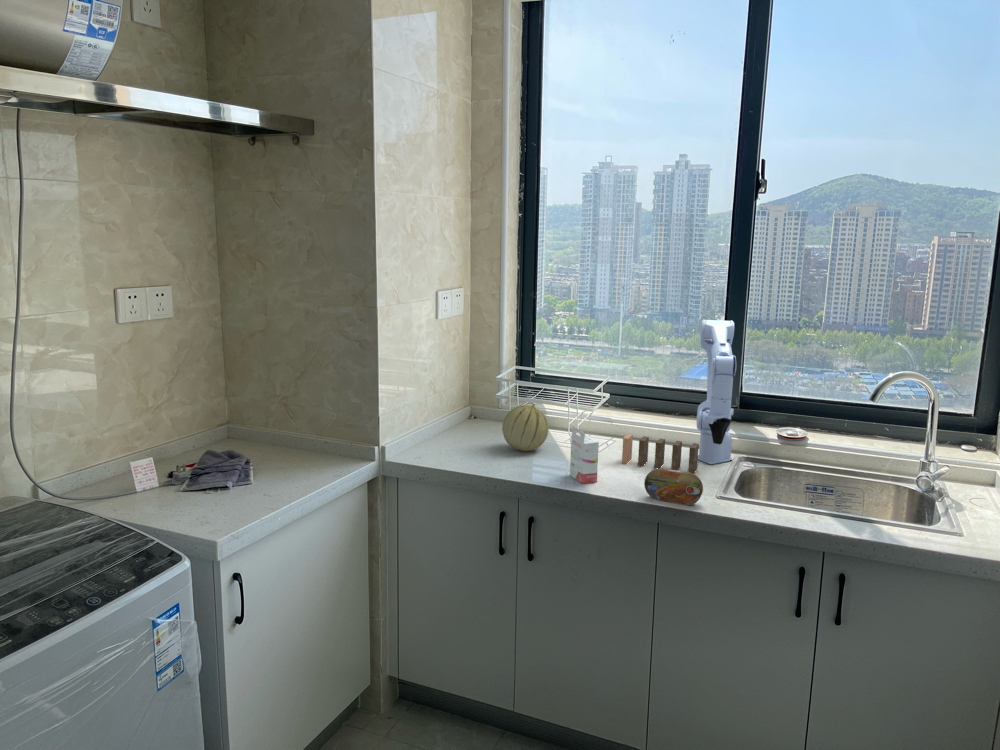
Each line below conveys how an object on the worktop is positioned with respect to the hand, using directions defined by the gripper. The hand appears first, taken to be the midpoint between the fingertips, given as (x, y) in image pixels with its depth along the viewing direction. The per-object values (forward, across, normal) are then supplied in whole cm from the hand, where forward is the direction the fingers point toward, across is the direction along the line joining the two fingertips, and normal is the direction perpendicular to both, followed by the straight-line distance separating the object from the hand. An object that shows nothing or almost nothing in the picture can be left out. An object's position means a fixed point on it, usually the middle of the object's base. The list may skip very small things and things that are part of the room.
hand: (717, 443), depth 212 cm
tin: (+10, +28, +1) cm, 29 cm away
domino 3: (+10, +4, -16) cm, 19 cm away
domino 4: (+10, +3, -11) cm, 15 cm away
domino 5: (+10, +2, -6) cm, 12 cm away
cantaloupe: (+10, +19, -56) cm, 60 cm away
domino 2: (+10, +5, -21) cm, 24 cm away
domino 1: (+10, +7, -26) cm, 28 cm away
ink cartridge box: (+10, +29, -26) cm, 41 cm away
